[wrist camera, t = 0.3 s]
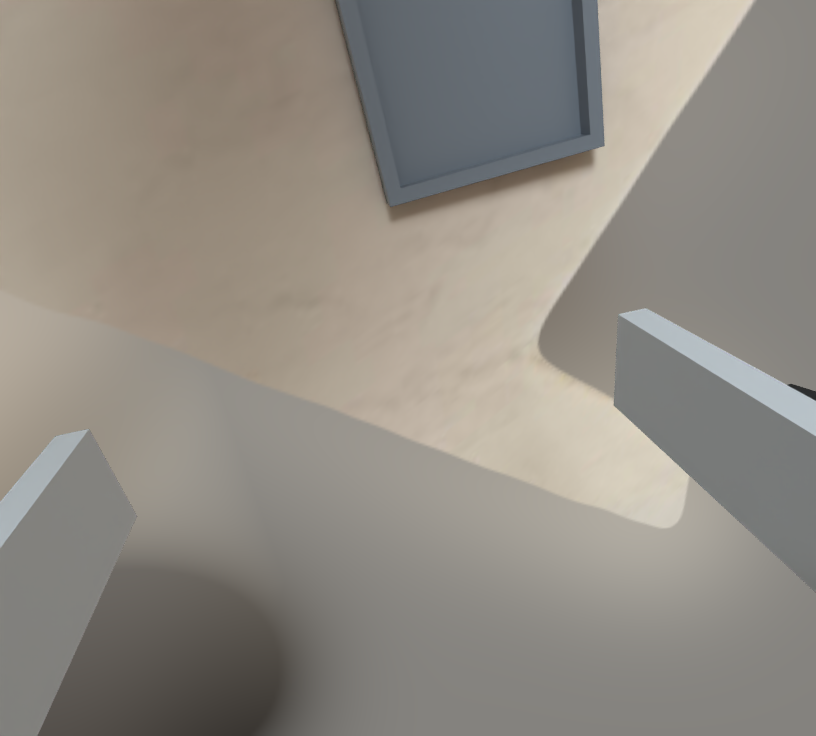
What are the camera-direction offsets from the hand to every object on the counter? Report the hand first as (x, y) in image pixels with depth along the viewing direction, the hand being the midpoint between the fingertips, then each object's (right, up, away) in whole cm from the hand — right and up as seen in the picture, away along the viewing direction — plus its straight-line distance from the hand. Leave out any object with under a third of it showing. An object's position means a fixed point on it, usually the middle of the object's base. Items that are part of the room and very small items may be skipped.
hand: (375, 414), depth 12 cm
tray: (+5, +22, +21) cm, 31 cm away
